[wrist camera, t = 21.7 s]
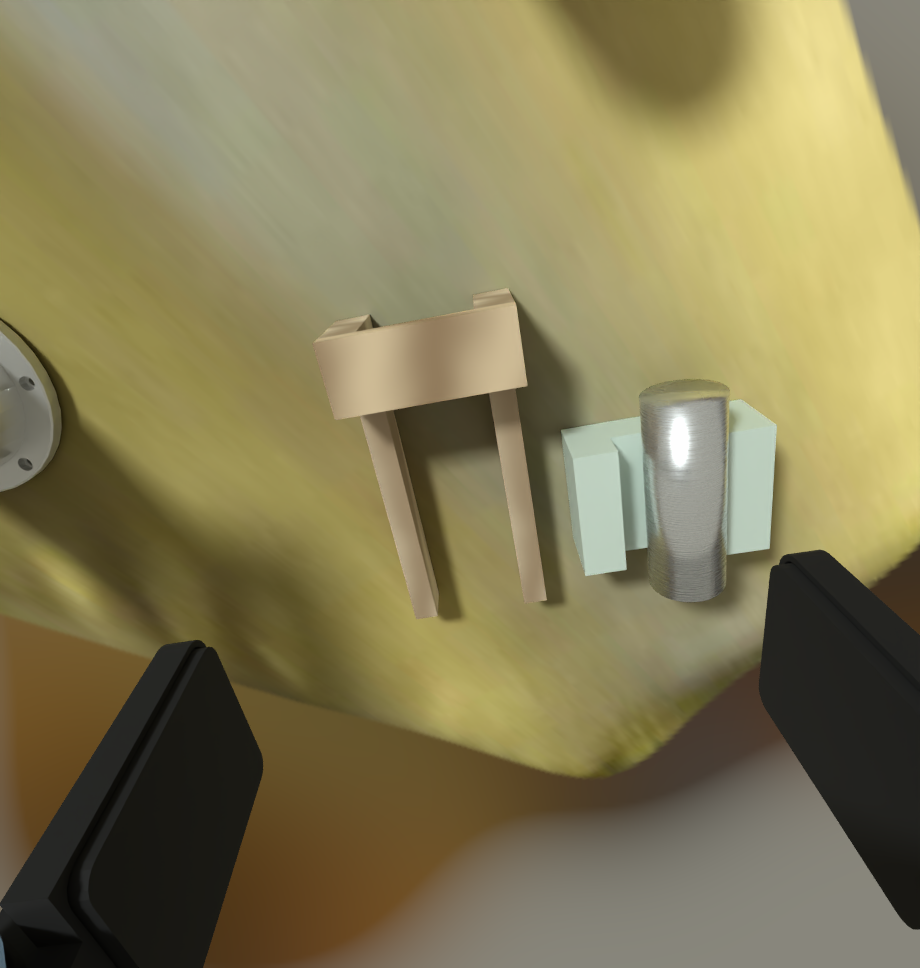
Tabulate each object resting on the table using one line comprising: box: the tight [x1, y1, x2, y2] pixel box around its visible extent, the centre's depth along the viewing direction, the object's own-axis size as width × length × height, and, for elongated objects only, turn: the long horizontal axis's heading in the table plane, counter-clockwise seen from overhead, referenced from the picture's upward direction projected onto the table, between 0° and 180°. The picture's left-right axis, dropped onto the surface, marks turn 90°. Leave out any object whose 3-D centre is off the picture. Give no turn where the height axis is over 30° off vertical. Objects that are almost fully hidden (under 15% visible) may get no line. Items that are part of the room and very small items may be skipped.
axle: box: [639, 379, 730, 602], centre depth 33 cm, size 12×4×4 cm, turn 11°
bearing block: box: [312, 288, 547, 619], centre depth 35 cm, size 10×20×6 cm, turn 11°
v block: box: [561, 399, 777, 576], centre depth 35 cm, size 11×8×4 cm
